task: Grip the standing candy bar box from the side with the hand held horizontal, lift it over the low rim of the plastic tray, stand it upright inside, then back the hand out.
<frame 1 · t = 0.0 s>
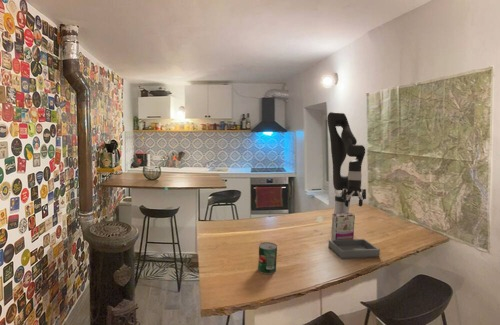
hand: (353, 206, 174), 17 cm above the breakfast bar, tool pointing down, fingers open, 8 cm apart
canned tomato: (267, 270, 130), on the breakfast bar
tray: (353, 252, 151), on the breakfast bar
candy bar box: (341, 243, 163), on the breakfast bar
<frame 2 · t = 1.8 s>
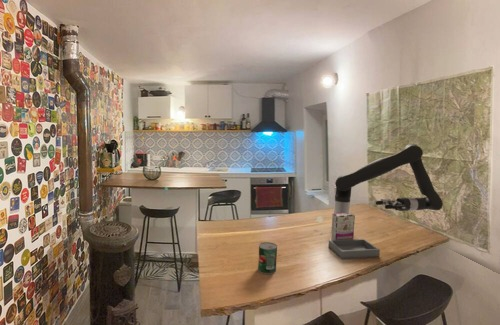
hand: (380, 204, 164), 21 cm above the breakfast bar, tool horizontal, fingers open, 8 cm apart
nothing on the breakfast bar moved.
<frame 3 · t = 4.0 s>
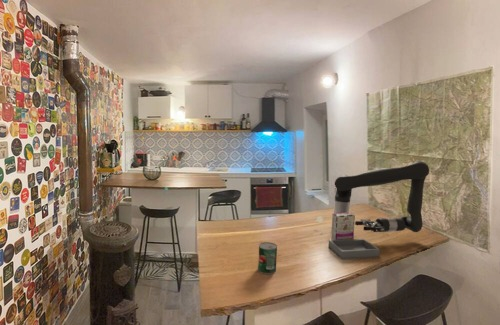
hand: (359, 225, 163), 10 cm above the breakfast bar, tool horizontal, fingers open, 8 cm apart
nothing on the breakfast bar moved.
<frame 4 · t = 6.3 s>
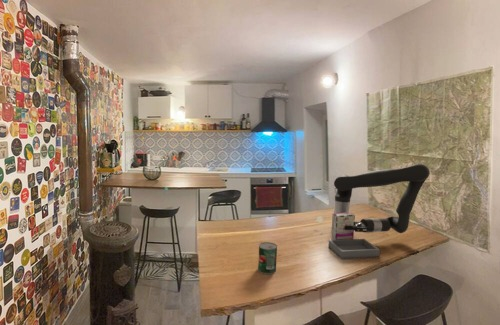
hand: (342, 226, 162), 10 cm above the breakfast bar, tool horizontal, fingers closed on candy bar box, 5 cm apart
candy bar box: (341, 243, 163), on the breakfast bar, touching gripper
everything else where it was.
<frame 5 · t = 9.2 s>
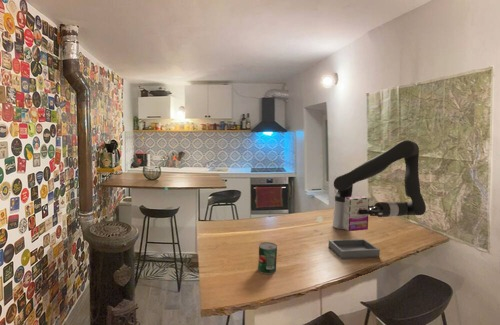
hand: (356, 210, 149), 22 cm above the breakfast bar, tool horizontal, fingers closed on candy bar box, 5 cm apart
candy bar box: (355, 229, 150), point 12 cm above the breakfast bar, touching gripper
everything else where it was.
when the fingers open (12 cm above the breakfast bar, at t = 12.2 s): candy bar box drops 1 cm, resting on tray.
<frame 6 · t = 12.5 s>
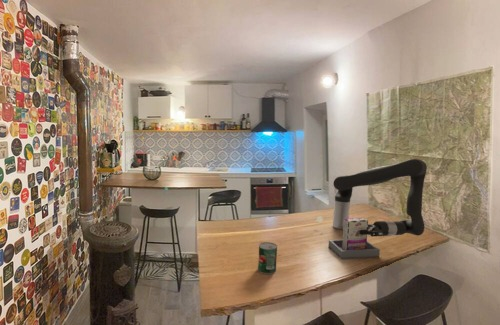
hand: (355, 229, 150), 12 cm above the breakfast bar, tool horizontal, fingers open, 8 cm apart
candy bar box: (353, 250, 151), point 1 cm above the breakfast bar, touching tray
everything else where it was.
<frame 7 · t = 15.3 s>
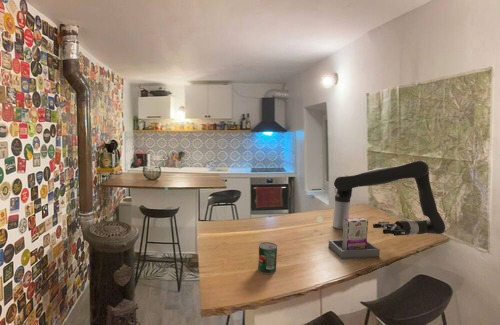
hand: (378, 228, 152), 12 cm above the breakfast bar, tool horizontal, fingers open, 8 cm apart
nothing on the breakfast bar moved.
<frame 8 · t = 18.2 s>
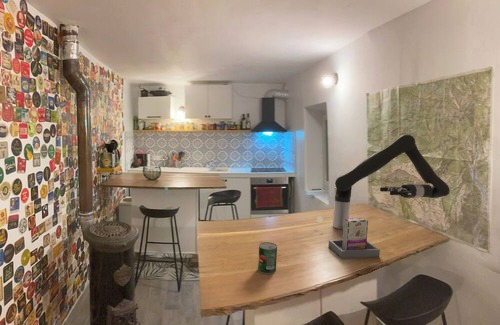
hand: (385, 191, 158), 30 cm above the breakfast bar, tool horizontal, fingers open, 8 cm apart
nothing on the breakfast bar moved.
at the end: candy bar box inside the target area on the tray (0.3 cm from its centre), point 0.8 cm above the tray's base; candy bar box tilted 0°; the gripper is holding nothing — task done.
